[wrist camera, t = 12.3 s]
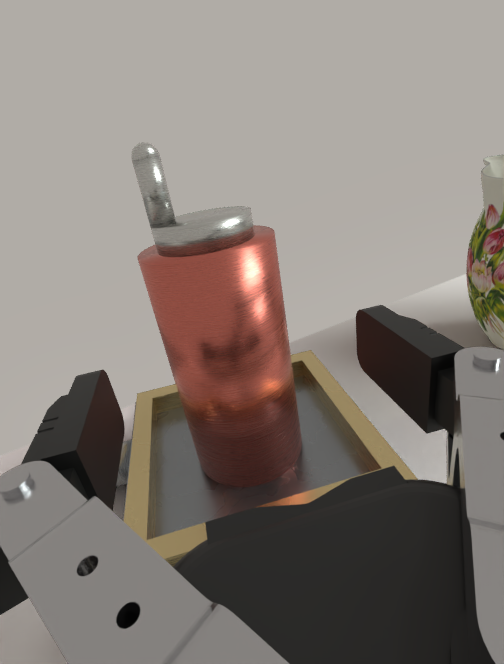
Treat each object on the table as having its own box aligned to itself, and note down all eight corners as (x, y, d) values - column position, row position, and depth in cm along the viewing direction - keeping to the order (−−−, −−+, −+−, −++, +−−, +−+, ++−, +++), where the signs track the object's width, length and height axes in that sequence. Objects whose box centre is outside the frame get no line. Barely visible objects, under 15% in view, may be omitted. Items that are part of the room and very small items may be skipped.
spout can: (284, 401, 23) (242, 129, 16) (318, 467, 18) (278, 113, 11) (194, 425, 22) (114, 151, 16) (204, 502, 17) (91, 144, 11)
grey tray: (316, 390, 28) (312, 342, 27) (438, 563, 16) (446, 495, 14) (105, 446, 26) (85, 398, 24) (54, 698, 14) (5, 638, 12)
